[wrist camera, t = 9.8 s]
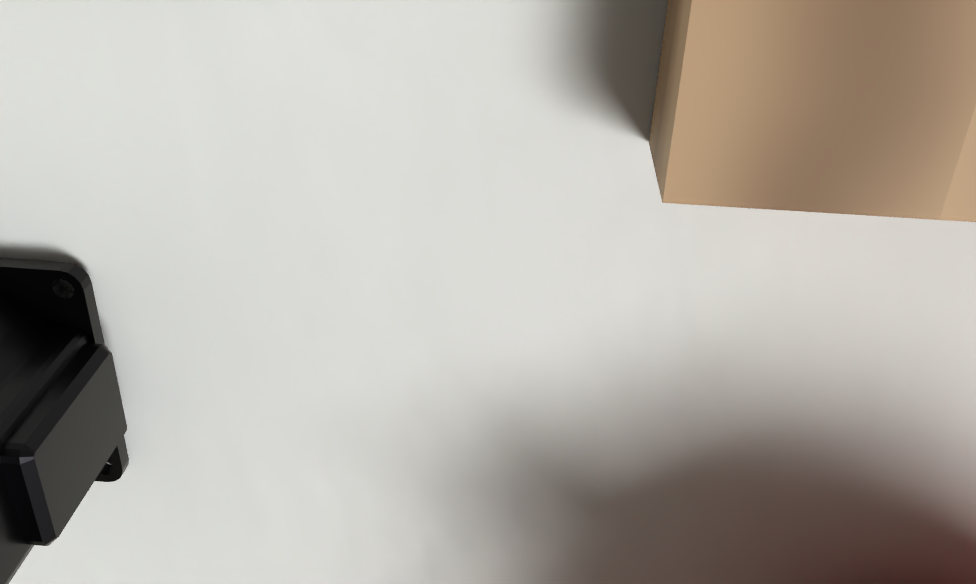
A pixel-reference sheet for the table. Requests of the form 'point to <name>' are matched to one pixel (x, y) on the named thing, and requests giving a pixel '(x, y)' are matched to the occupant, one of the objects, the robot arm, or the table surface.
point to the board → (819, 106)
